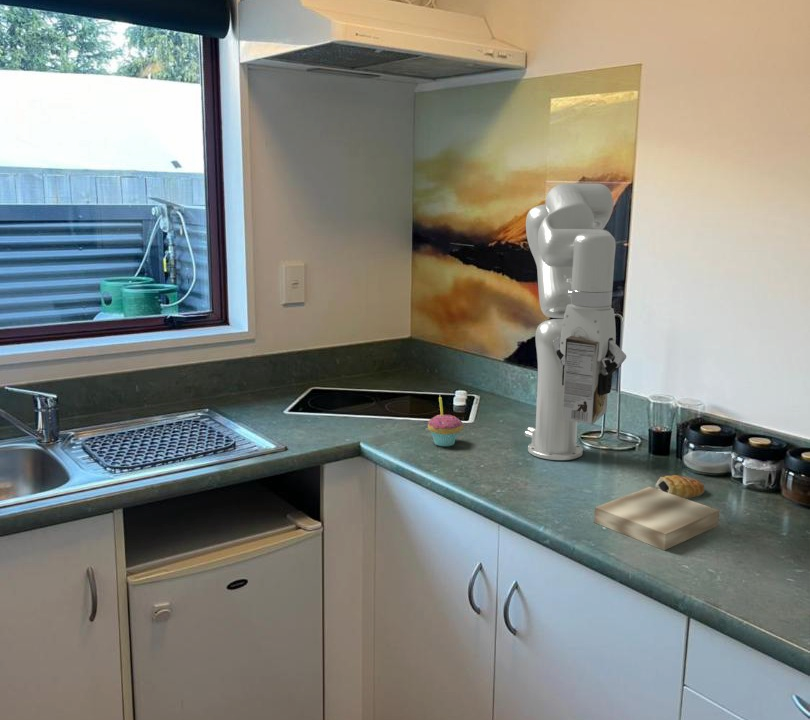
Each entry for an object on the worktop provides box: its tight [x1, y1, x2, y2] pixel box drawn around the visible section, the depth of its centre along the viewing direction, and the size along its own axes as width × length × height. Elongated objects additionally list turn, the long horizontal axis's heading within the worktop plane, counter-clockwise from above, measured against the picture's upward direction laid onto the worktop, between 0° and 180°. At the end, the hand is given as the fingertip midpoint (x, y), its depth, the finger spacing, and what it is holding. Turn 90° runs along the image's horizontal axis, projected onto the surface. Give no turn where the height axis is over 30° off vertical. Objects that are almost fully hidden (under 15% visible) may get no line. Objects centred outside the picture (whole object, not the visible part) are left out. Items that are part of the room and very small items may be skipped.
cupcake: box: [427, 393, 464, 447], centre depth 193 cm, size 9×8×12 cm
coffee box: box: [562, 336, 609, 425], centre depth 154 cm, size 9×6×16 cm
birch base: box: [593, 486, 721, 551], centre depth 148 cm, size 15×17×3 cm
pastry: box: [654, 474, 705, 499], centre depth 163 cm, size 9×7×4 cm
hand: (585, 388), depth 155 cm, fingers closed on coffee box, 8 cm apart
